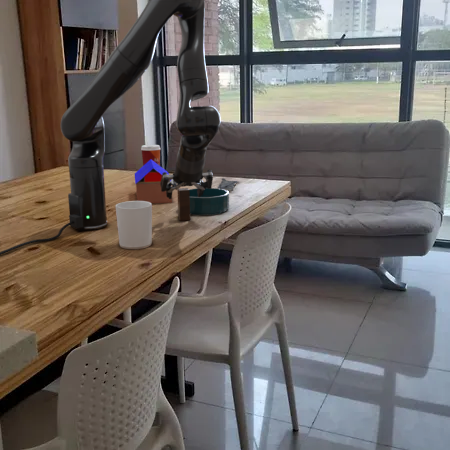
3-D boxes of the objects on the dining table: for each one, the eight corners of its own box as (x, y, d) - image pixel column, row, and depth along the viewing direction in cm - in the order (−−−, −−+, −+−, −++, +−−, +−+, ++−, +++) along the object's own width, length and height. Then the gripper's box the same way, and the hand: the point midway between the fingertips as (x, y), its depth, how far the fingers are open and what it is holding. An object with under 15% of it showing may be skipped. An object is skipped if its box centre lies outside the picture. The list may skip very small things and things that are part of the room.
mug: (156, 248, 146) (154, 207, 143) (120, 251, 144) (117, 210, 141) (149, 236, 156) (147, 198, 154) (114, 239, 154) (112, 200, 151)
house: (136, 204, 193) (134, 168, 190) (135, 191, 212) (133, 159, 209) (173, 202, 195) (171, 167, 192) (168, 190, 214) (167, 158, 211)
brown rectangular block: (190, 220, 172) (189, 190, 170) (180, 221, 171) (179, 190, 169) (188, 217, 175) (187, 188, 173) (178, 218, 174) (177, 188, 172)
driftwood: (233, 193, 208) (233, 187, 208) (214, 192, 209) (214, 186, 209) (239, 182, 228) (239, 177, 228) (221, 182, 229) (221, 177, 228)
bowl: (201, 218, 174) (201, 200, 173) (171, 209, 185) (171, 192, 184) (238, 210, 184) (238, 192, 182) (208, 202, 194) (208, 186, 193)
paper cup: (160, 183, 227) (159, 146, 224) (140, 183, 227) (139, 147, 224) (163, 179, 235) (161, 144, 231) (143, 179, 235) (142, 144, 231)
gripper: (214, 149, 160) (206, 183, 174) (161, 151, 157) (157, 186, 171) (219, 171, 157) (210, 204, 170) (165, 174, 153) (161, 208, 167)
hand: (184, 195), depth 170 cm, fingers open, 8 cm apart
